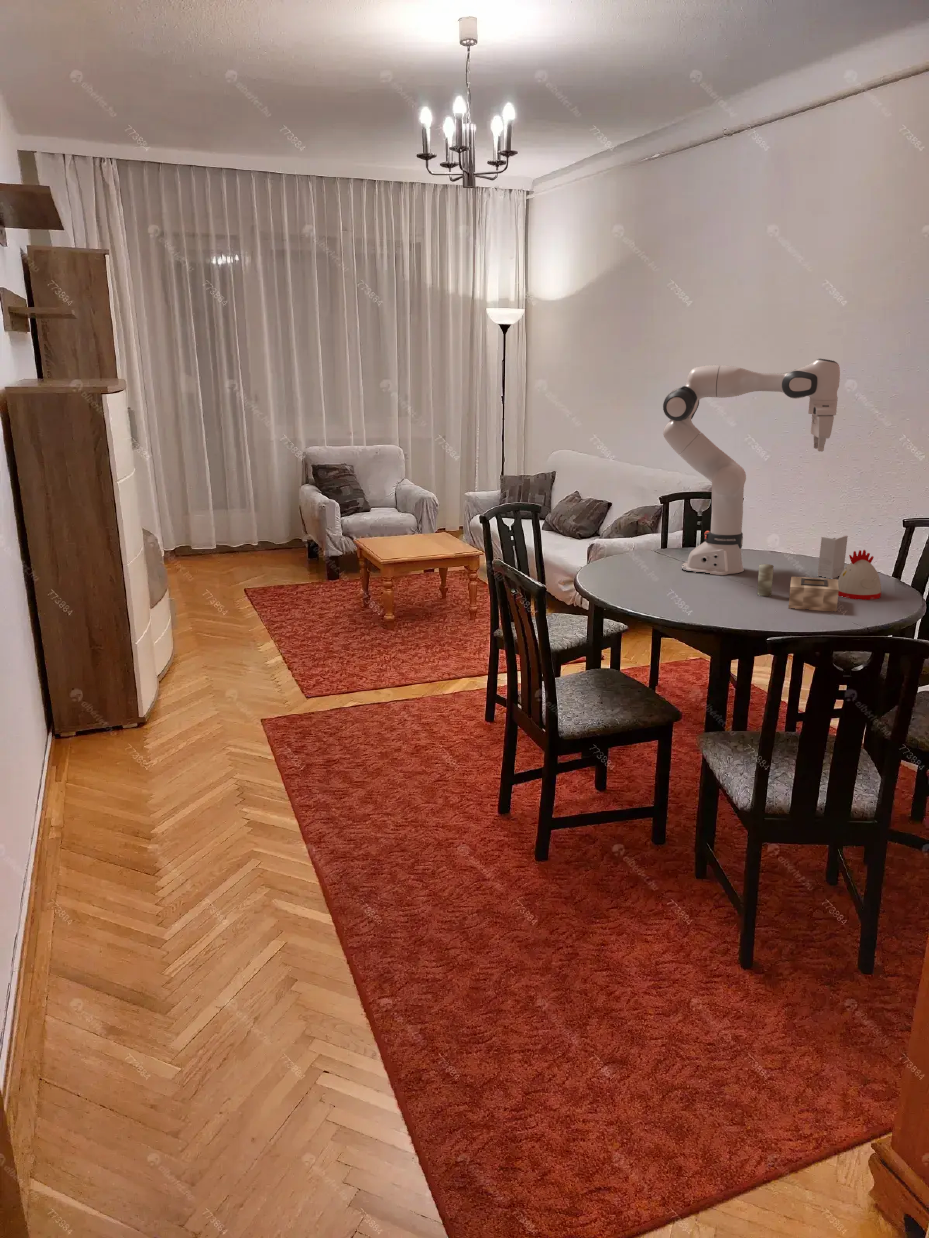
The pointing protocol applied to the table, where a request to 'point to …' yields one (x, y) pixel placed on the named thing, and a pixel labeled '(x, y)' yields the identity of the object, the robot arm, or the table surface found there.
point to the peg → (765, 580)
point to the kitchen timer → (860, 578)
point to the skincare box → (832, 555)
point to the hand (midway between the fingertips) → (818, 449)
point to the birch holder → (813, 593)
